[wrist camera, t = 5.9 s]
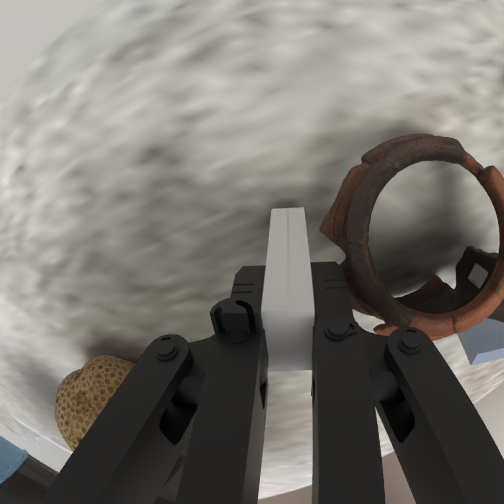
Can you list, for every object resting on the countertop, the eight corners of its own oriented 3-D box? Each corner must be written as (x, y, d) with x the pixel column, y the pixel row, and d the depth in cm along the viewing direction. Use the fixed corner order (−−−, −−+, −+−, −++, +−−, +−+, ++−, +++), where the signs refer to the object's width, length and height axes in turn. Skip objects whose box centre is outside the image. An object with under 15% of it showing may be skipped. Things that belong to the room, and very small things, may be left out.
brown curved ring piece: (300, 288, 18) (283, 324, 10) (349, 139, 17) (364, 72, 9) (466, 346, 16) (529, 399, 8) (509, 210, 15) (588, 197, 7)
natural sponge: (123, 395, 28) (93, 476, 19) (66, 338, 24) (17, 424, 15) (195, 391, 25) (170, 493, 17) (134, 323, 21) (80, 442, 13)
